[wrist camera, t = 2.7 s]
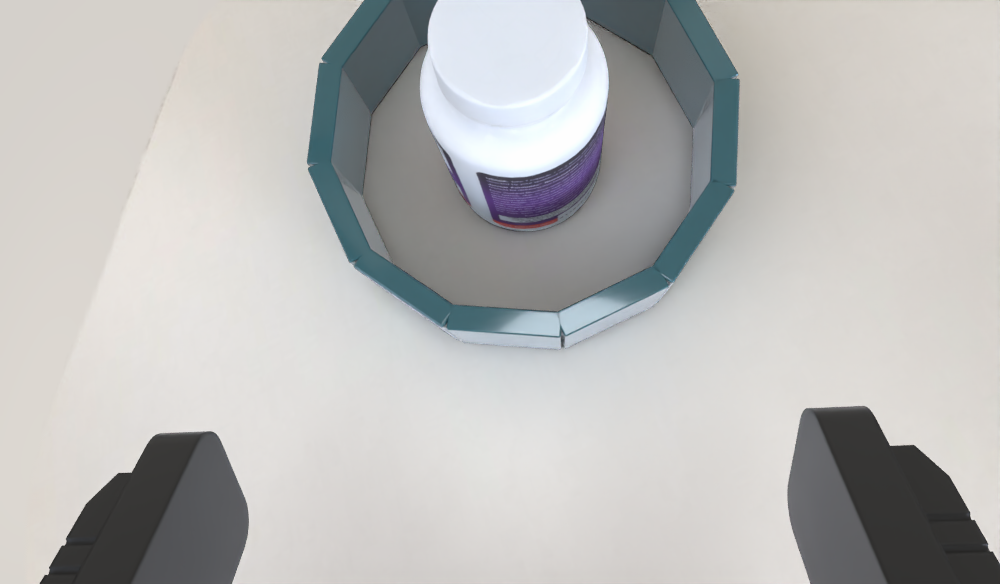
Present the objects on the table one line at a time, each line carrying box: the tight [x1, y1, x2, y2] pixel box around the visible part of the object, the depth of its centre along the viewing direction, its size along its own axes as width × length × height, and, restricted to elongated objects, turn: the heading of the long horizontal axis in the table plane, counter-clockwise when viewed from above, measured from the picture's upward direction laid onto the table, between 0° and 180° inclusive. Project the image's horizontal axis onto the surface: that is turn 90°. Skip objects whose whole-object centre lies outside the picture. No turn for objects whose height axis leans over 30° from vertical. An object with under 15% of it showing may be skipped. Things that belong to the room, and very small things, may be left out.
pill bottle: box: [420, 0, 609, 231], centre depth 24 cm, size 5×5×10 cm
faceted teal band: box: [307, 0, 740, 350], centre depth 26 cm, size 14×14×4 cm
